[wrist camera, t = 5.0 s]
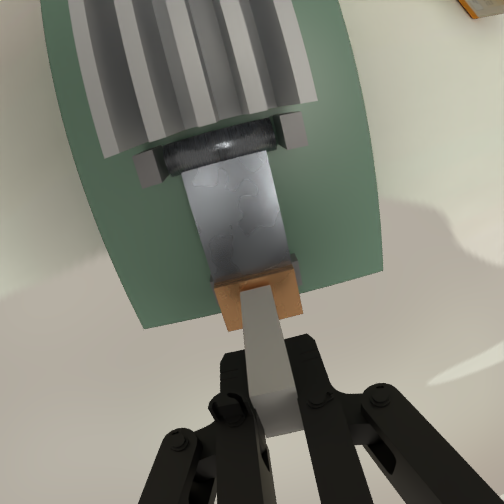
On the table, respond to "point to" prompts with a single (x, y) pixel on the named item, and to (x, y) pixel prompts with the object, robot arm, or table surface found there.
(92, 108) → the board
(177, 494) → the robot arm
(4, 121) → the table surface
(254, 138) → the strap
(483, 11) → the supplement box
